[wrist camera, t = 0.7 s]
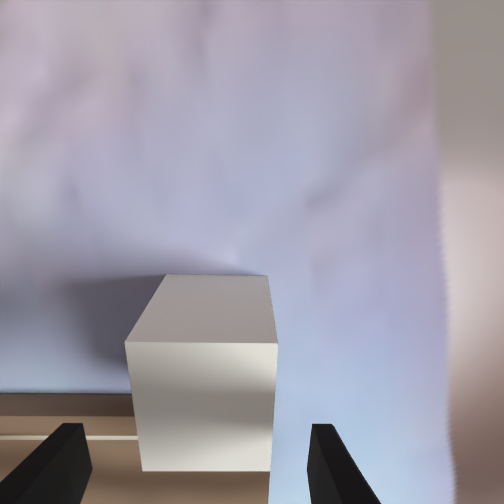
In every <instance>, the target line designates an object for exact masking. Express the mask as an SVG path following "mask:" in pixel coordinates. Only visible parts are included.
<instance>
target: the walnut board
mask: <svg viewBox="0 0 504 504" xmlns="http://www.w3.org/2000/svg"><path fill="white" fill-rule="evenodd" d="M62 423H83V426H84V431H85V436H86V440H87V445H88V449H89V454H90V458H91V463H92V467H93V470H92V473H91V476H90V479H89V481H88V484H87V487H86V490H85V493H84V495H83V498H82V501H81V503H80V504H268V495H269V478H270V471H142V464H141V456H140V449H139V442H138V435H137V428H136V421H135V414H134V407H133V399H132V394H0V482H1V481H2V480H3V479H4V478H5V477H6V476H7V475H8V474H9V473H10V472H11V471H13V470H14V469H15V468H16V467H17V466H18V465H19V464H20V463H21V462H22V461H23V460H24V459H25V458H26V457H27V456H28V455H29V454H30V453H32V452H33V451H34V450H35V449H36V448H37V447H38V446H39V445H40V444H41V443H42V442H43V441H44V440H45V439H46V438H47V437H48V436H49V435H50V434H51V433H53V432H54V431H55V430H56V429H57V428H58V427H59V426H60V425H61V424H62Z"/></svg>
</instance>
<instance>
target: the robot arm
mask: <svg viewBox="0 0 504 504" xmlns="http://www.w3.org/2000/svg"><path fill="white" fill-rule="evenodd" d="M92 470H93V467H92V463H91V458H90V454H89V449H88V445H87V440H86V436H85V431H84V426H83V423H62V424H61V425H60V426H59V427H58V428H57V429H56V430H55V431H54V432H53V433H51V434H50V435H49V436H48V437H47V438H46V439H45V440H44V441H43V442H42V443H41V444H40V445H39V446H38V447H37V448H36V449H35V450H34V451H33V452H32V453H30V454H29V455H28V456H27V457H26V458H25V459H24V460H23V461H22V462H21V463H20V464H19V465H18V466H17V467H16V468H15V469H14V470H13V471H11V472H10V473H9V474H8V475H7V476H6V477H5V478H4V479H3V480H2V481H1V482H0V504H80V503H81V501H82V498H83V495H84V493H85V490H86V487H87V484H88V481H89V479H90V476H91V473H92ZM307 474H308V482H309V490H310V497H311V504H381V503H380V501H379V500H378V498H377V497H376V495H375V494H374V492H373V490H372V489H371V487H370V486H369V484H368V483H367V481H366V480H365V478H364V477H363V475H362V473H361V472H360V470H359V469H358V467H357V465H356V464H355V462H354V460H353V459H352V457H351V455H350V454H349V452H348V450H347V449H346V447H345V445H344V443H343V442H342V440H341V438H340V436H339V434H338V433H337V431H336V429H335V427H334V426H333V425H332V424H312V430H311V438H310V447H309V455H308V463H307Z"/></svg>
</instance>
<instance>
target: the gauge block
mask: <svg viewBox="0 0 504 504" xmlns="http://www.w3.org/2000/svg"><path fill="white" fill-rule="evenodd" d="M125 350H126V357H127V364H128V371H129V378H130V385H131V392H132V399H133V407H134V414H135V421H136V428H137V435H138V442H139V449H140V456H141V464H142V471H270V467H271V451H272V435H273V418H274V402H275V386H276V370H277V353H278V340H277V333H276V327H275V320H274V314H273V308H272V301H271V295H270V288H269V282H268V276H241V275H171V274H166V276H165V277H164V279H163V281H162V282H161V284H160V285H159V287H158V289H157V290H156V292H155V294H154V295H153V297H152V298H151V300H150V302H149V303H148V305H147V306H146V308H145V310H144V311H143V313H142V314H141V316H140V318H139V319H138V321H137V323H136V324H135V326H134V327H133V329H132V331H131V332H130V334H129V335H128V337H127V339H126V340H125Z"/></svg>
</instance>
